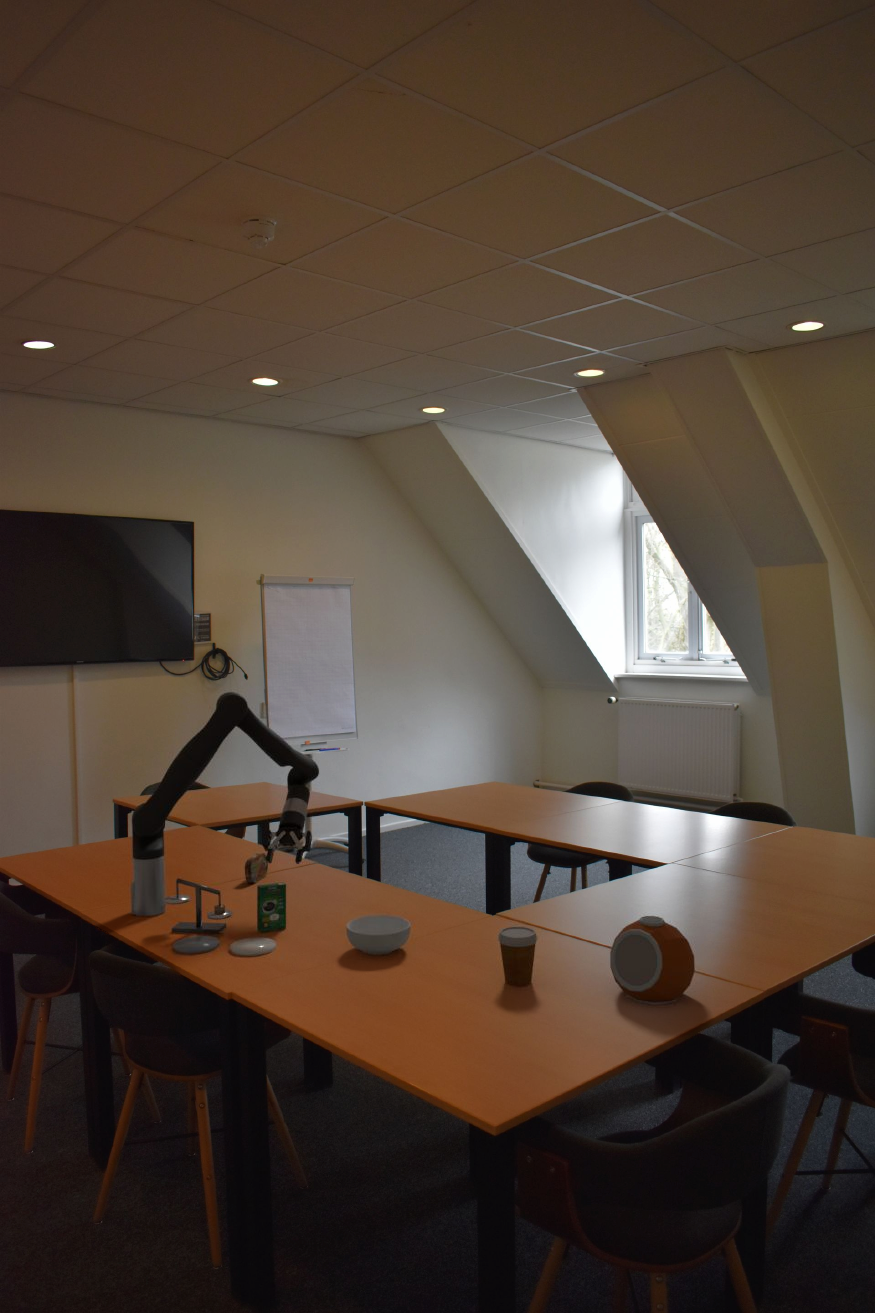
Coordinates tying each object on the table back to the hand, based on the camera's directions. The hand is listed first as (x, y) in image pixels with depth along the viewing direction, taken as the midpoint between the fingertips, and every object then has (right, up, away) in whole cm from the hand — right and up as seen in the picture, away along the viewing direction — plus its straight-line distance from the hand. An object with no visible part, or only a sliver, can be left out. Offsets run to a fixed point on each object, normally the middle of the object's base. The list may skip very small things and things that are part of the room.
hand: (283, 862), depth 279 cm
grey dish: (-19, -17, -25) cm, 36 cm away
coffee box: (-1, -17, -11) cm, 20 cm away
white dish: (-4, -17, -27) cm, 32 cm away
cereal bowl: (+30, -17, -30) cm, 46 cm away
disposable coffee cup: (+65, -17, -54) cm, 86 cm away
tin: (-17, -16, +45) cm, 50 cm away
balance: (-22, -17, -10) cm, 30 cm away
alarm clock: (+95, -17, -63) cm, 115 cm away
